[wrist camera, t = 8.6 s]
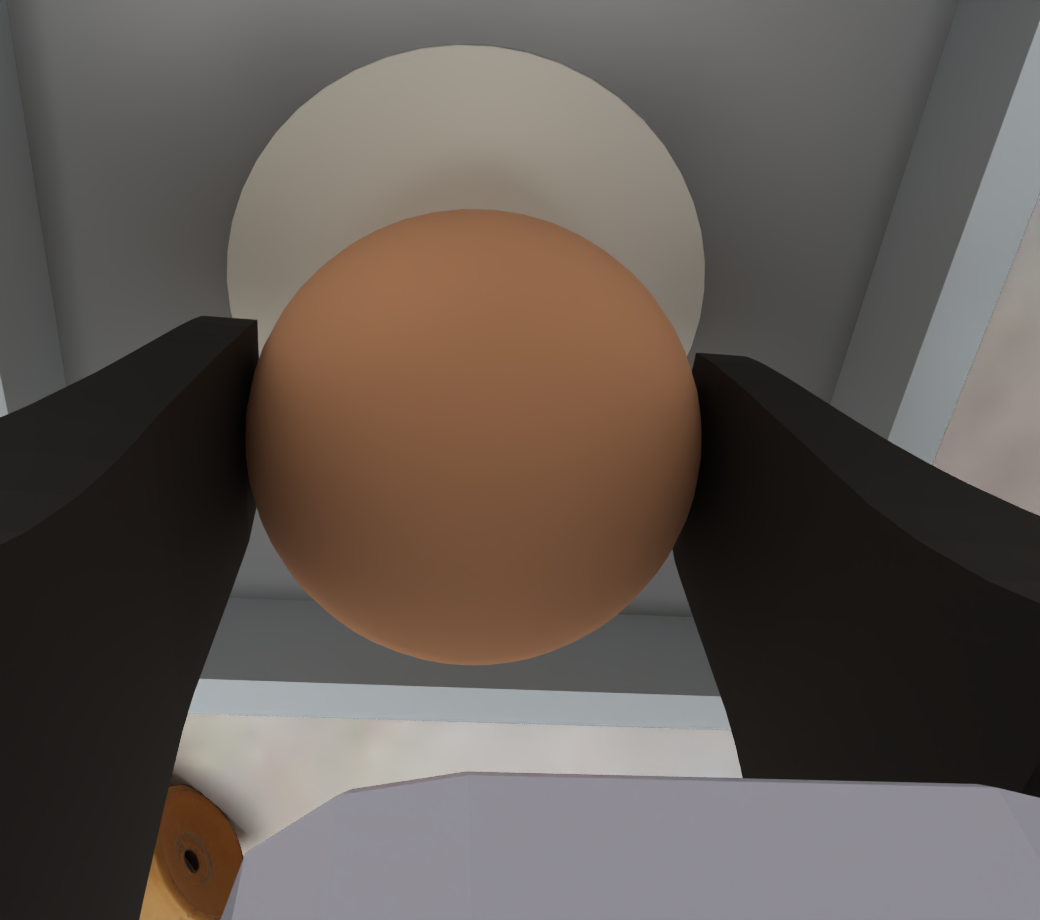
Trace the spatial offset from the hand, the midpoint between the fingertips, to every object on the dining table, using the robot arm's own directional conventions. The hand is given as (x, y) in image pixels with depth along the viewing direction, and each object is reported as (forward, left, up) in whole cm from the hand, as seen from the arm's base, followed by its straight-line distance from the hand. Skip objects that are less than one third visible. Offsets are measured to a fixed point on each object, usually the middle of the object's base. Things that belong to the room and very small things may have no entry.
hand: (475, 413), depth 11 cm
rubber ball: (0, 0, -2) cm, 2 cm away
